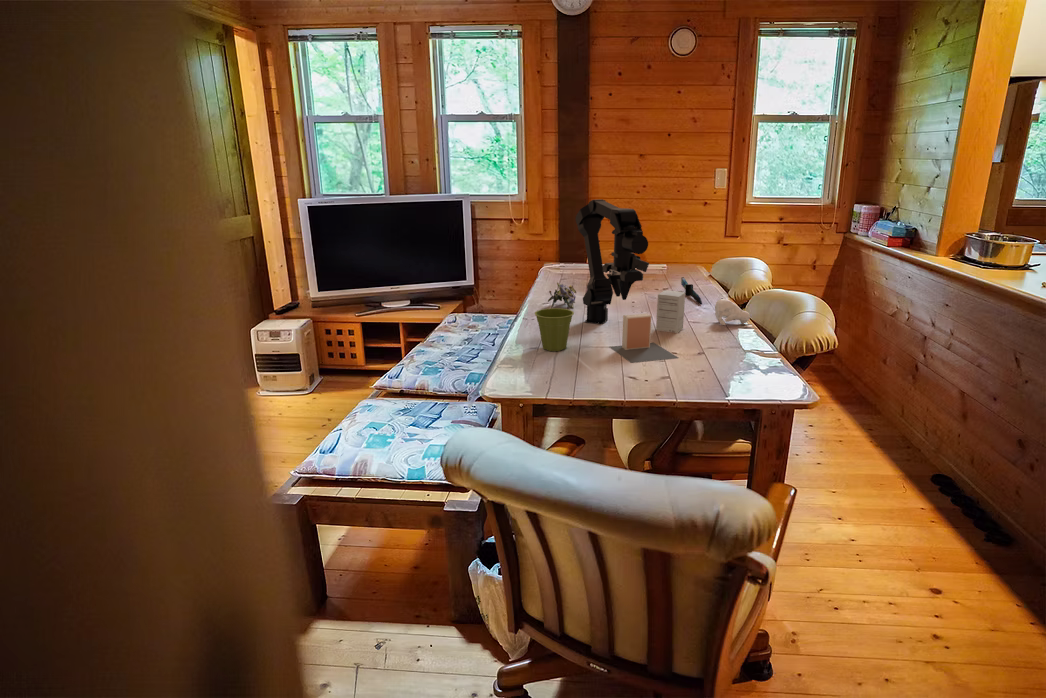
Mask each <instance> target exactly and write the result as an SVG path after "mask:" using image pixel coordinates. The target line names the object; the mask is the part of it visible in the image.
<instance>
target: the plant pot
mask: <svg viewBox="0 0 1046 698" xmlns="http://www.w3.org/2000/svg"><path fill="white" fill-rule="evenodd" d="M574 314H575V312H574V311H573V310H571V309H568V308H560V307H558V308H557V307H556V308H555V307H551V308H542V309H539V310H536V311H535V312H534V315H535V316H536V320H537V323H538V327H539V333H540V340H541V345H542V349H543V350H547V351H549V352H561V351H562V350H566V349H567V345H568V338H569V334H570V326H571V322H572V318H573V316H574Z"/></svg>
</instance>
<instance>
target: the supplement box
mask: <svg viewBox="0 0 1046 698" xmlns="http://www.w3.org/2000/svg"><path fill="white" fill-rule="evenodd" d="M685 303H686V295H685V291H677V290H676V291H675V290H663V291H662V292H660V293H658V294H657V304H656V324H655V325H656V326H655V330H656V331H658V332H665V333H666V332H668V333H675V334H678V333H679V332H680V331H682V330H683V329H684V321H685V320H684V319H685V318H684V317H685Z"/></svg>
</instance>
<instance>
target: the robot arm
mask: <svg viewBox="0 0 1046 698" xmlns="http://www.w3.org/2000/svg"><path fill="white" fill-rule="evenodd" d="M604 218H605V219H607V220H609V224H610V225H611V226H612V227H613V229H612V231H611V234H612V235H614V236H613V237H614V238H613V241H614V242H613V251H612V252H611V256H612V257H613V262H605V263H604V264H603V259H602V252H601V246H600V240H599V239H600V238H599V233H600V230H601V228H602V222H603V220H604ZM575 223H576V225H577V229H578V232H579V233H580V234H581V235H582V237H583V238H584V245H585V252H586V257H587V265H588V271H589V277H590V278H589V281H588V282H587V285H586V291H585V293H584V295H583V297H582V303H583V305H585V306H586V320H585V321H584V322H585V323H591V324H601V325H603V324H604V323H606V322H607V321H608V320H609V318H608V317H609V316H608V315H609V308H607V306H608V305H611V303H612V300H613V297H614V296H613V295H614V294H615V297H621V298H622V300H623V301H626V300H627V298H628V296H629V292H630V290H631V287H632V285H633V284H634V283H636V282H642V281H644V273H647V271H648V268H649V266H650V262H647V261H644V260H642V259H641V256H639V255H642V254H644V253H645V252H646V251H647V250H648V248H649V241H648V238H647V237H646V236H645V235H644V231H643V228H642V223H641V222H640V219H639V216H638V214H637V211H636V210H635V209H634V208H624V207H623V208H622V207H618V206H616V205H614V204H612V203H609V202H608V201H607V200H605V199H599V198H598V199H591V200H590V201H589V202H588V204H586V205H584V206H582V207H581V208H580V209H579V210H578V212H577V213H576V215H575ZM642 272H643V273H642ZM606 273H607V274H606ZM605 274H606V275H605Z"/></svg>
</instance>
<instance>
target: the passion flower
mask: <svg viewBox="0 0 1046 698" xmlns="http://www.w3.org/2000/svg"><path fill="white" fill-rule="evenodd" d="M556 285H557V287H558V288H559V290H558V289H557V288H556V289H554V292H553V294H552V291H551V290H549V291H548V293H549V294H550V297H549V298H548V300H547V302H550V301H552V303H551V304H552V305H551V308H554V306H555V305H554V304H556V303H557V302H558V301H560V302H562V301H563V302H564V305H566V306H567V307H568V308H570V309H574V308H575V307H574V304H575V303H576V298H577V296H576V294H577V290H576V289H575V288H574V285H569V286H567V285H564V284H563V283H560V284H559V282H556Z"/></svg>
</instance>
